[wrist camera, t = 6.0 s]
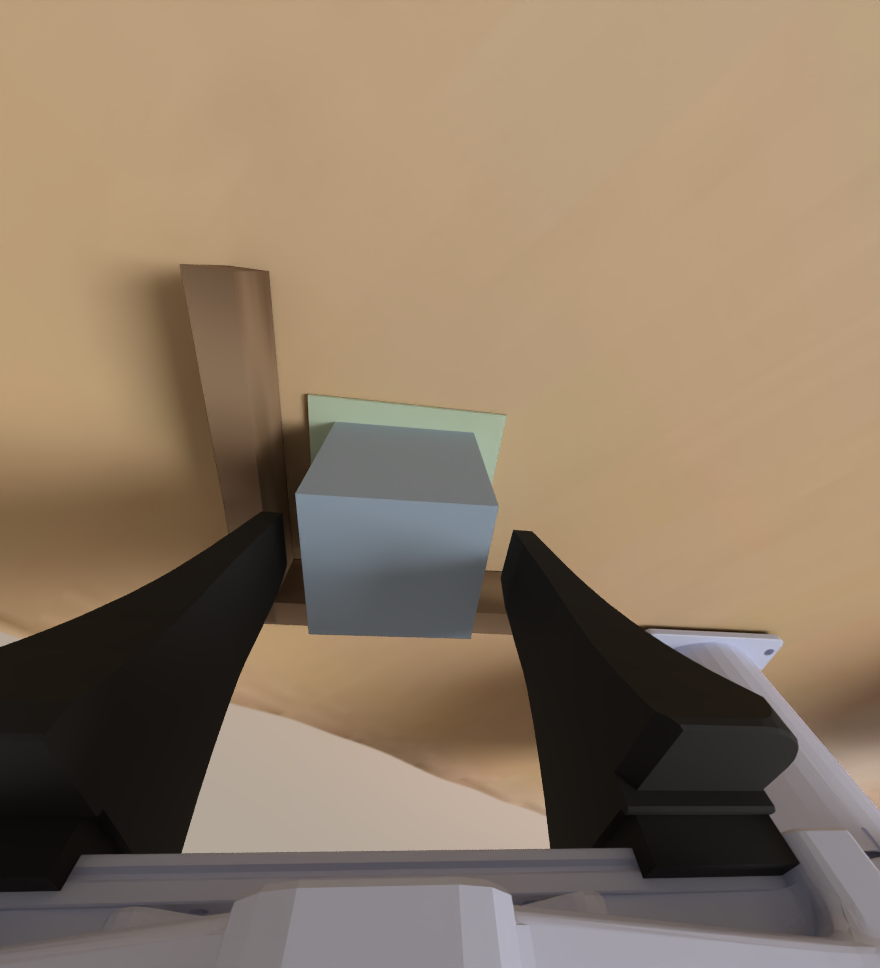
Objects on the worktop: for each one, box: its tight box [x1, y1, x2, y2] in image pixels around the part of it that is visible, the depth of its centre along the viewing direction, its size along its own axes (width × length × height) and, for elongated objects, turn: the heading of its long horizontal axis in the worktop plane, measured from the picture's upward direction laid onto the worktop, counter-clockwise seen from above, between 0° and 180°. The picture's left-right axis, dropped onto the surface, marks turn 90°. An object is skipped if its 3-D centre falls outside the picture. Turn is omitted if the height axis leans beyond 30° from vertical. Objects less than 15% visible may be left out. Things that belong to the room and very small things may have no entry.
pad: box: [308, 394, 507, 485], centre depth 15 cm, size 7×7×1 cm
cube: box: [295, 422, 499, 639], centre depth 13 cm, size 5×5×5 cm
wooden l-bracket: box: [180, 264, 513, 635], centre depth 14 cm, size 12×13×2 cm
